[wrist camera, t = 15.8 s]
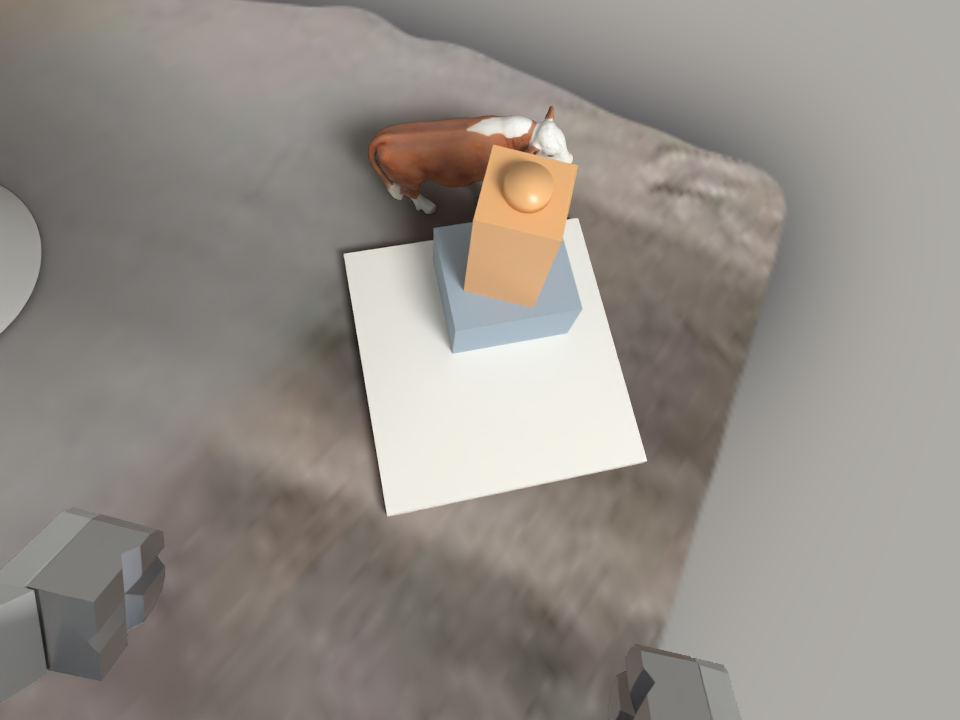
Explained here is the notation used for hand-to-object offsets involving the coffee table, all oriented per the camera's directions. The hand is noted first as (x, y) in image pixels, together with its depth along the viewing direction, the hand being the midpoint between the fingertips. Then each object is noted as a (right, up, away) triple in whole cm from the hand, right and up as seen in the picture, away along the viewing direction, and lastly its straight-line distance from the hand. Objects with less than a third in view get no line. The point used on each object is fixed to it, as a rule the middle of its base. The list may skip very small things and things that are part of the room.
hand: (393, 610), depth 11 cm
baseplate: (+2, +4, +32) cm, 33 cm away
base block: (+3, +9, +33) cm, 34 cm away
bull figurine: (0, +17, +36) cm, 40 cm away
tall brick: (+3, +10, +28) cm, 30 cm away
